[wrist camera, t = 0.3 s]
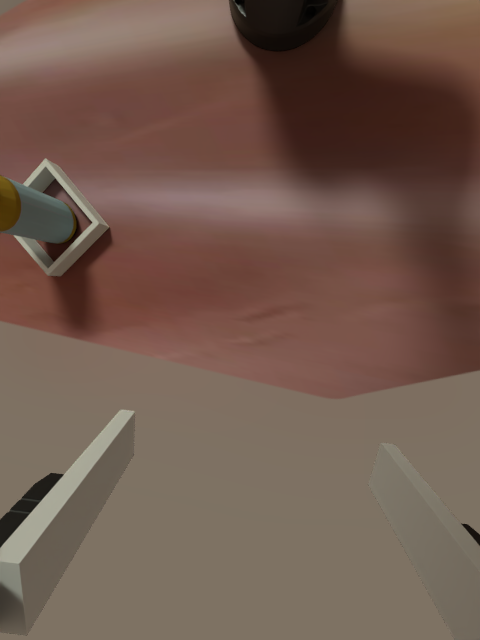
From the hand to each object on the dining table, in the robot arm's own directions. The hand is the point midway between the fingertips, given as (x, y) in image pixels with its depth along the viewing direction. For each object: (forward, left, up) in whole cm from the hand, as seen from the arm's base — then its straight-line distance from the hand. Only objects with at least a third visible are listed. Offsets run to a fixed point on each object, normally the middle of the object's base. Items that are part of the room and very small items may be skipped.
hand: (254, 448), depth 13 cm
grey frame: (-10, -38, -27) cm, 48 cm away
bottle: (-10, -38, -28) cm, 48 cm away
